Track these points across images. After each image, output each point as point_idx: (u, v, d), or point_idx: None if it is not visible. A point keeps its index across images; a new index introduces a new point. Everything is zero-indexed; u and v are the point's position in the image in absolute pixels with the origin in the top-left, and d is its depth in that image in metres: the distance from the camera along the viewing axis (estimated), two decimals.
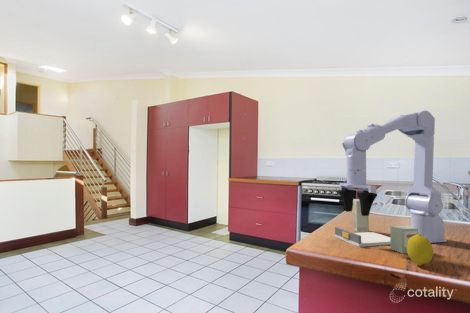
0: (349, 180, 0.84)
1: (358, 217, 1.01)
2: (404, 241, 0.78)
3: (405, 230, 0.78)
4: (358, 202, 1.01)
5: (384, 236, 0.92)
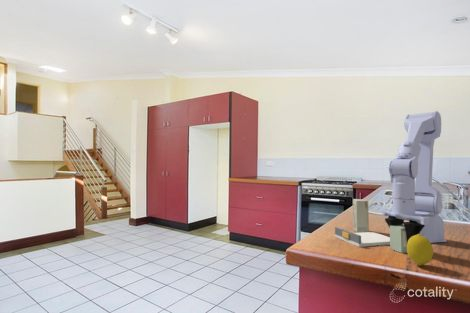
0: (397, 208, 0.79)
1: (358, 217, 1.01)
2: (403, 240, 0.78)
3: (404, 229, 0.78)
4: (358, 202, 1.01)
5: (384, 236, 0.92)
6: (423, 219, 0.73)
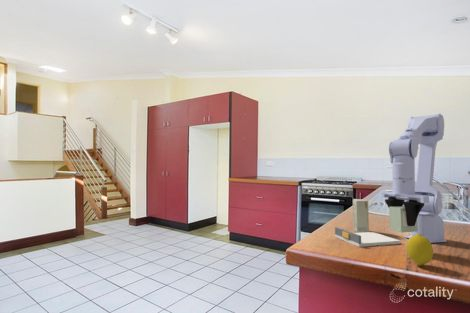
0: (397, 188, 0.80)
1: (358, 217, 1.01)
2: (403, 220, 0.78)
3: (404, 209, 0.78)
4: (358, 202, 1.01)
5: (384, 236, 0.92)
6: (423, 197, 0.74)
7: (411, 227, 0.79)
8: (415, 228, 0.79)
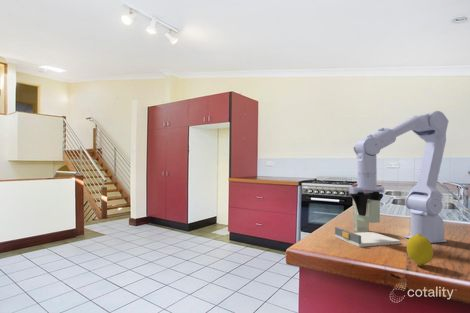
0: None
1: None
2: None
3: None
4: None
5: (384, 236, 0.92)
6: None
7: (365, 217, 0.88)
8: (369, 219, 0.86)
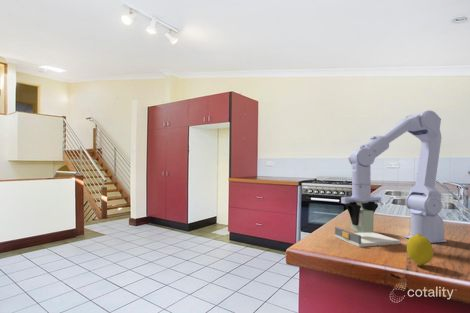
0: None
1: None
2: None
3: None
4: None
5: (384, 236, 0.92)
6: None
7: (358, 227, 0.89)
8: (361, 229, 0.88)
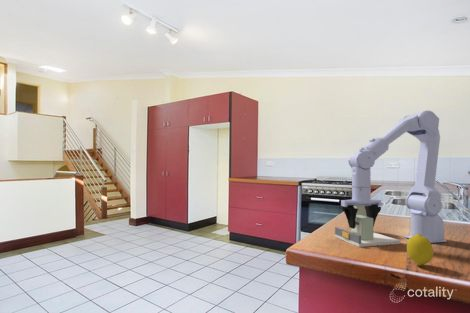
0: None
1: None
2: None
3: None
4: None
5: (384, 236, 0.92)
6: None
7: (358, 234, 0.89)
8: (361, 236, 0.88)
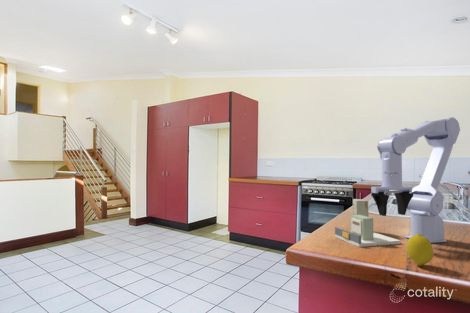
0: None
1: None
2: (351, 226, 0.92)
3: (353, 217, 0.92)
4: (358, 202, 1.01)
5: (384, 236, 0.92)
6: None
7: (358, 234, 0.89)
8: (361, 236, 0.88)
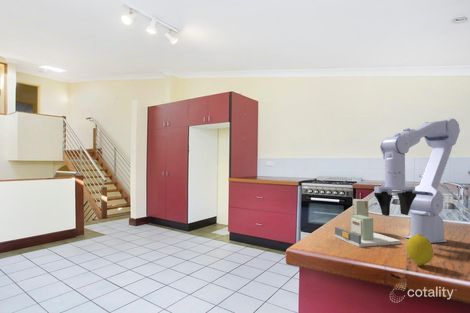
0: None
1: None
2: (351, 226, 0.92)
3: (353, 217, 0.92)
4: (358, 202, 1.01)
5: (384, 236, 0.92)
6: None
7: (358, 234, 0.89)
8: (361, 236, 0.88)
